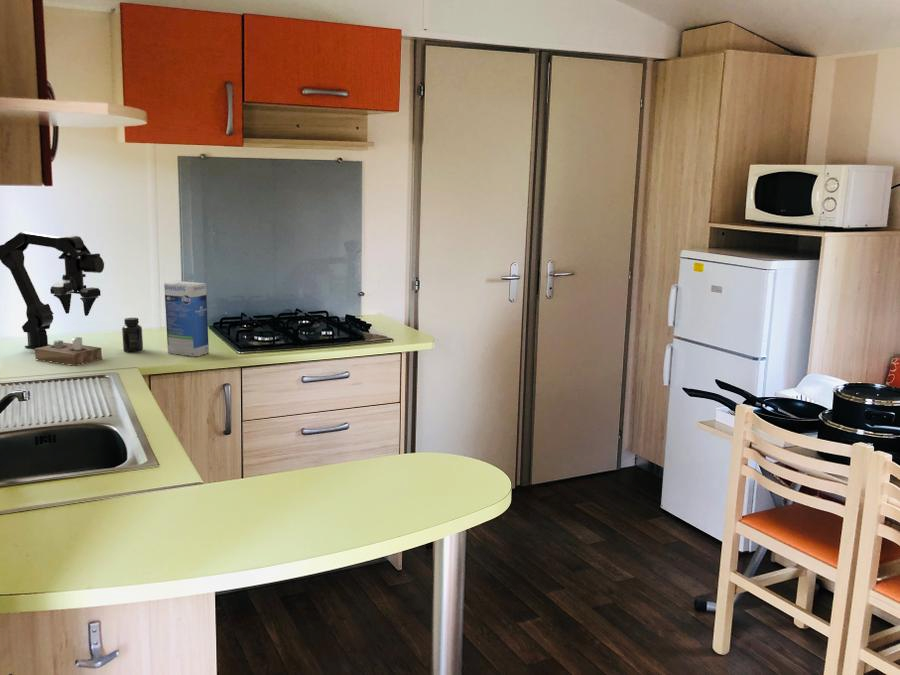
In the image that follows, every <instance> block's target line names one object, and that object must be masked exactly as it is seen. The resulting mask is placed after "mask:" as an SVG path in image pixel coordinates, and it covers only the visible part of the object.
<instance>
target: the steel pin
mask: <svg viewBox="0 0 900 675" xmlns="http://www.w3.org/2000/svg"><path fill="white" fill-rule="evenodd" d="M72 344H73V351H82V350H83V346H82V345H83V337H81V336H79V337H76V336H75V337H72Z"/></svg>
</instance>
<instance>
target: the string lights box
mask: <svg viewBox="0 0 900 675" xmlns="http://www.w3.org/2000/svg"><path fill="white" fill-rule="evenodd" d="M163 286H164V287H163V289H164V305H165V306H164V307H165V322H166V323H165V324H166V338H167V340H166V341H167V354H168V353H173V354H172V355H176V354H180V355H179V356H184V355H189V356H188V357H193V356H198V357H201V356H204V355H207V353H208V354H210V348H209V345H210V344H209V326H208V325H209V324H208V305H207V304H208V302H207V283H206V282H195V281H194V282H192V281H181V280H175V281H171V282H166V283H165V282H164V283H163ZM203 354H204V355H203ZM200 355H201V356H200Z"/></svg>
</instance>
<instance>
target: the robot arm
mask: <svg viewBox="0 0 900 675" xmlns="http://www.w3.org/2000/svg"><path fill="white" fill-rule="evenodd" d="M29 245H34V246H35V245H36V246H40V247H47V248H53V249H56V250H57V251H59V252H62V253H61V255H60V256H58V259H59V260H64V270H65V272H64V274H62V277H61V278H62V279H61V280H59V281H57V282H55V283H54V284H52V285H51V287H50V289H49V290H50V294H52V295H53V296H54V297H55V298H57V299H58V300H59V301H60V304H61V305H62V307H63V310H64V312H65V314H69V313H70V311H71V302H72V295H73V294H76V295H77V294H78V295H80V296H81V297H80V298H79V299H80V300H81V301H82V306H83V312H84V316H85V317H87V316H89V315H90V312H91V310H92V307H93V305H94V303H95V301H96V299H97V298H99V297H101V289H99V287H87V285H84V284H85V283H84V278H85V277H87V276H86V273H95V274H100V273H103V270H104V268H105V262H104V260H103V258H102V257H101V253H91V252H90V249H88V247H87V246H86V244H85V243H84V240H83V239H82V237H80V235H79V236H78V235H70V236H68V235H67V236H66V235H65V236H57V235H48V234H40V233H37V232H36V233H35V232H31V231H22V232H18V233H17V234H16V235H14V236H13V237H12V238H11V239H9V240H7V241H5V243H4V244H0V262H1V263H2V265H4V266H5V267H6V268H7V269H8V270H9V271H10V274H11V275H12V277H13V280H14V281H15V284H16V286H17V288H18V290H19V293H20V295H21V297H22V299H23V301H24V303H25V305H26V314H25V315H26V319H27V320H26V322H25V323H24V324H23V325H22V326H21V329H22V330H23V331H22V332H23V333H27V345H24V348H28V349H34V350H35V349H36V348H40V347H45V346H49V345H51V344H49V342H48V341H49V340H48V334H47V330H49V329H50V328H51V324H52V323H53V320H54V312H53V311H52V308H51V306H50V304H49V303H46V304H45V303H43V302H42V301H41V299H40V297H39V295H38V292H37V291H36V289H35V286H34V284H33V282H32V280H31V278H30V275H29V273H28V271H27V269H26V266H25V254H24V252H25V251H26V250H27V249H28V248H29V247H28V246H29Z"/></svg>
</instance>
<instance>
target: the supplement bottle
mask: <svg viewBox="0 0 900 675" xmlns="http://www.w3.org/2000/svg"><path fill="white" fill-rule="evenodd" d="M139 320H140V319H139V318H138V317H126V318H124V320H123V321H124V326H123V327H122V329H121V334H122V348H123V352H125V353H140V352H142V351H143V350H144V342H143V338H144V337H143V328H142V326H141V325H140V321H139Z"/></svg>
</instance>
